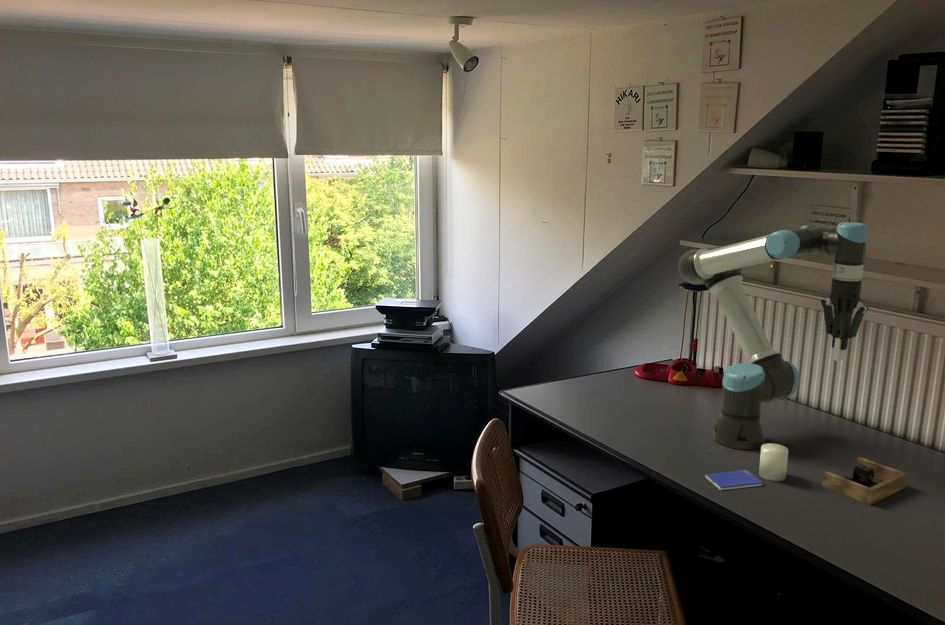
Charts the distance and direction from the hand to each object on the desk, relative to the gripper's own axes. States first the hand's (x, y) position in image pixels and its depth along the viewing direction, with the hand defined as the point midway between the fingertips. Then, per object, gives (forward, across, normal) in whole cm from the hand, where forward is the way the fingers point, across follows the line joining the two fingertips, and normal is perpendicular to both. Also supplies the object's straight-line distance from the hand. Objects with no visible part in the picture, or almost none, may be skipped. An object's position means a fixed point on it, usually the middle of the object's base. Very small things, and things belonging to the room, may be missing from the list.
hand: (838, 359), depth 214 cm
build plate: (+30, +15, -8) cm, 35 cm away
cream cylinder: (+30, -1, -25) cm, 39 cm away
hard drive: (+30, -5, -37) cm, 48 cm away
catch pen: (+29, +16, -11) cm, 35 cm away
